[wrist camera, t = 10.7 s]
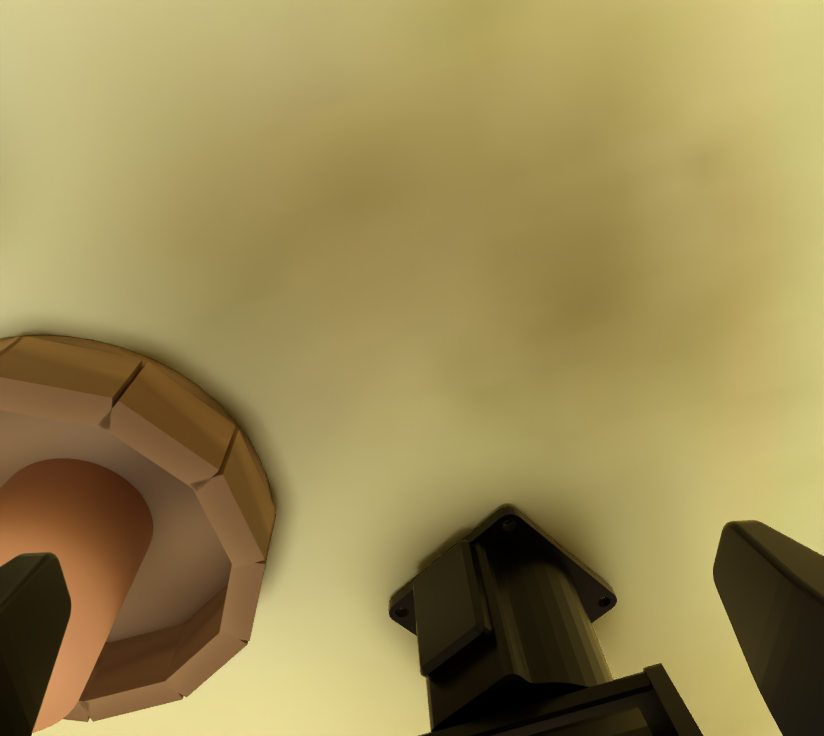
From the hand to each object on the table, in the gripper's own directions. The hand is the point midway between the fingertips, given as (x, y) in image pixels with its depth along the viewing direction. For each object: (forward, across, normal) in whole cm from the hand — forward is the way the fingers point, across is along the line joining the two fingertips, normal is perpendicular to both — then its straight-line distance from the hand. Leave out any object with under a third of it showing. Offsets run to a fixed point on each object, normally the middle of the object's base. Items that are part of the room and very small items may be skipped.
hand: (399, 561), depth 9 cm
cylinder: (+11, +11, +8) cm, 17 cm away
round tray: (+12, +11, +8) cm, 18 cm away
